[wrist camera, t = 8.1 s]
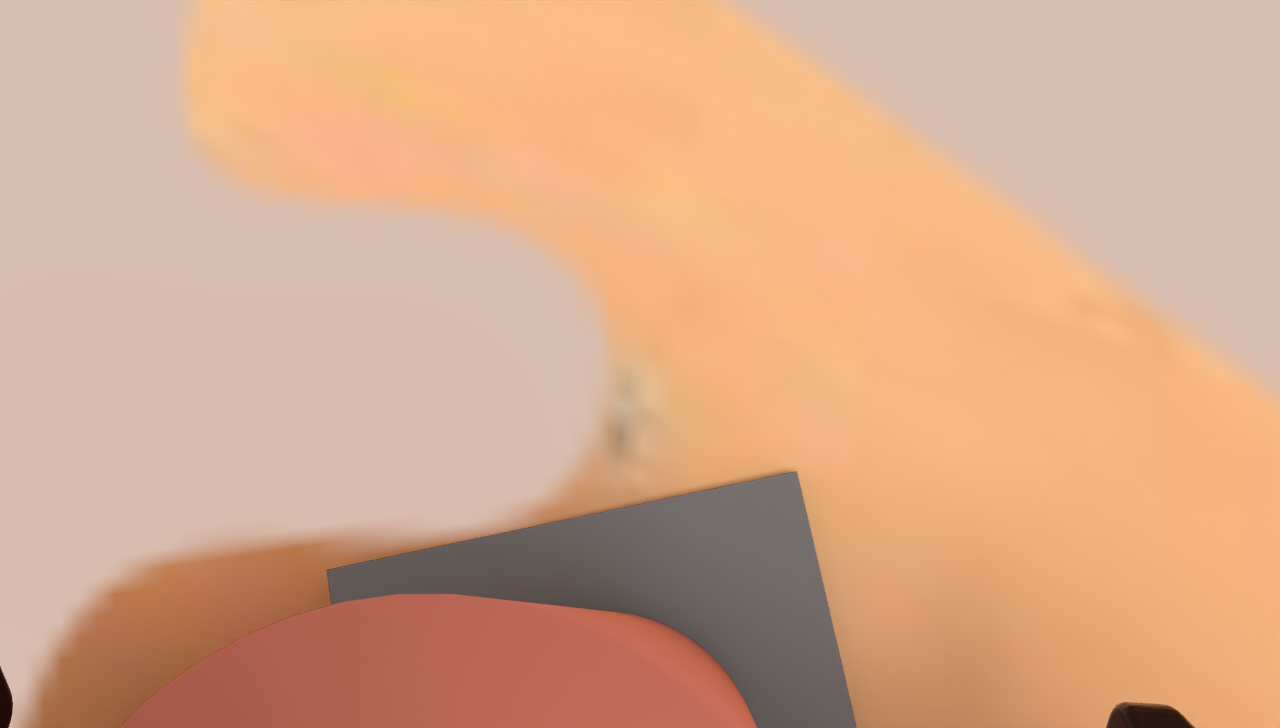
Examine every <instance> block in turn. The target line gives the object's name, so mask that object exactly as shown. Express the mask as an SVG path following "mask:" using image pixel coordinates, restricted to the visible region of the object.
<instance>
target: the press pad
mask: <svg viewBox="0 0 1280 728" xmlns="http://www.w3.org/2000/svg"><path fill="white" fill-rule="evenodd" d="M327 576H328V583H329V590H330V597H331V604H332V605H334V604H337V603H341V602H345V601H352V600H359V599H367V598H374V597H381V596H388V595H395V594H457V595H466V596H475V597H484V598H493V599H502V600H511V601H520V602H529V603H538V604H547V605H556V606H565V607H574V608H583V609H592V610H601V611H610V612H619V613H626V614H634V615H638V616H642V617H645V618H649V619H653V620H655V621H658V622H660V623H663V624H665V625H667V626H670V627H672V628H674V629H676V630H677V631H679V632H681V633H683V634H684V635H686V636H688V637H689V638H691V639H692V640H693V641H695V642H696V643H697V644H699V645H700V646H701V647H703V648H704V649H705V650H706V651H707V652H708V653H709V654H710V655H711V656H712V657H713V658H714V659H715V660H716V661H717V662H718V663H719V664H720V665H721V666H722V667H723V668H724V670H725V671H726V672H727V674H728V675H729V676H730V677H731V679H732V680H733V681H734V683H735V685H736V686H737V688H738V690H739V691H740V693H741V695H742V697H743V698H744V700H745V702H746V704H747V706H748V709H749V711H750V713H751V715H752V717H753V719H754V722H755V724H756V726H757V728H856V723H855V719H854V715H853V710H852V706H851V702H850V697H849V693H848V689H847V685H846V680H845V676H844V672H843V667H842V663H841V659H840V655H839V650H838V646H837V642H836V637H835V633H834V629H833V625H832V620H831V616H830V612H829V607H828V603H827V599H826V594H825V590H824V586H823V582H822V577H821V573H820V569H819V564H818V560H817V556H816V552H815V547H814V543H813V539H812V534H811V530H810V526H809V522H808V517H807V513H806V509H805V504H804V500H803V496H802V491H801V487H800V483H799V479H798V474H797V471H796V472H791V473H787V474H782V475H777V476H772V477H768V478H763V479H758V480H753V481H748V482H744V483H739V484H734V485H729V486H725V487H720V488H715V489H710V490H705V491H701V492H696V493H691V494H686V495H682V496H677V497H672V498H667V499H662V500H658V501H653V502H648V503H643V504H639V505H634V506H629V507H624V508H620V509H615V510H610V511H605V512H600V513H596V514H591V515H586V516H581V517H577V518H572V519H567V520H562V521H557V522H553V523H548V524H543V525H538V526H534V527H529V528H524V529H519V530H515V531H510V532H505V533H500V534H495V535H491V536H486V537H481V538H476V539H472V540H467V541H462V542H457V543H452V544H448V545H443V546H438V547H433V548H429V549H424V550H419V551H414V552H409V553H405V554H400V555H395V556H390V557H386V558H381V559H376V560H371V561H367V562H362V563H357V564H352V565H347V566H343V567H338V568H333V569H328V570H327Z"/></svg>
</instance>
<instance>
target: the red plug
mask: <svg viewBox="0 0 1280 728" xmlns="http://www.w3.org/2000/svg"><path fill="white" fill-rule="evenodd" d="M119 728H757V726H756V724H755V722H754V719H753V717H752V715H751V713H750V711H749V709H748V706H747V704H746V702H745V700H744V698H743V697H742V695H741V693H740V691H739V690H738V688H737V686H736V685H735V683H734V681H733V680H732V679H731V677H730V676H729V675H728V674H727V672H726V671H725V670H724V668H723V667H722V666H721V665H720V664H719V663H718V662H717V661H716V660H715V659H714V658H713V657H712V656H711V655H710V654H709V653H708V652H707V651H706V650H705V649H704V648H703V647H701V646H700V645H699V644H697V643H696V642H695V641H693V640H692V639H691V638H689V637H688V636H686V635H684V634H683V633H681V632H679V631H677V630H676V629H674V628H672V627H670V626H667V625H665V624H663V623H660V622H658V621H655V620H653V619H649V618H645V617H642V616H638V615H634V614H626V613H619V612H610V611H601V610H592V609H583V608H574V607H565V606H556V605H547V604H538V603H529V602H520V601H511V600H502V599H493V598H484V597H475V596H466V595H457V594H395V595H388V596H381V597H374V598H367V599H359V600H352V601H345V602H341V603H337V604H334V605H330V606H326V607H323V608H319V609H316V610H312V611H308V612H305V613H301V614H298V615H294V616H291V617H288V618H286V619H283V620H281V621H279V622H276V623H274V624H272V625H269V626H267V627H265V628H262V629H260V630H258V631H255V632H253V633H251V634H248V635H246V636H243V637H241V638H239V639H237V640H236V641H234V642H232V643H230V644H229V645H227V646H225V647H224V648H222V649H220V650H218V651H217V652H215V653H213V654H212V655H210V656H208V657H207V658H205V659H203V660H201V661H200V662H198V663H196V664H195V665H193V666H191V667H190V668H189V669H187V670H186V671H185V672H183V673H182V674H181V675H179V676H178V677H177V678H175V679H174V680H173V681H172V682H170V683H169V684H168V685H166V686H165V687H164V688H162V689H161V690H160V691H158V692H157V693H156V694H155V695H153V696H152V697H151V698H149V699H148V700H147V701H146V702H144V703H143V704H142V705H141V706H140V707H139V708H138V709H137V710H136V711H135V712H134V713H133V714H132V715H131V716H130V717H129V718H128V719H127V720H126V721H125V722H124V723H123V724H122V725H121V726H120V727H119Z"/></svg>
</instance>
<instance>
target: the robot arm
mask: <svg viewBox="0 0 1280 728" xmlns="http://www.w3.org/2000/svg"><path fill="white" fill-rule="evenodd" d="M12 708H13V702H12V695H11V691H10V689H9V686H8V684H7V682H6V679H5V677H4V674H3V672H2V670H1V667H0V728H8V727H9V724H10V721H11V716H12ZM1106 728H1195V727H1194V726H1193V725H1192V724H1191V723H1190V722H1189V721H1188V720H1187V719H1186V718H1185V717H1184V716H1183V715H1182V714H1181V713H1180V712H1179V711H1177V710H1176V709H1174V708H1173V707H1170V706H1168V705H1162V704H1147V703H1132V702H1123V703H1119V704H1118V705H1116V706H1115V708H1114V709H1113V710H1112V712H1111V715H1110V717H1109V721H1108V724H1107V727H1106Z"/></svg>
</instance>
